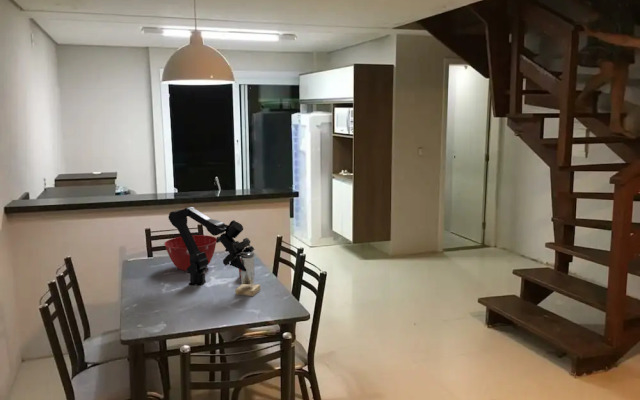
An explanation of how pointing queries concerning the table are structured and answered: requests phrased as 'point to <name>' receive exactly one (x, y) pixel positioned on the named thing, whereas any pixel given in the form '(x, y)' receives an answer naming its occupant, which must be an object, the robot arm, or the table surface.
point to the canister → (247, 268)
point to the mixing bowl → (181, 253)
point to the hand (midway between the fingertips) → (249, 269)
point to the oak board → (247, 289)
